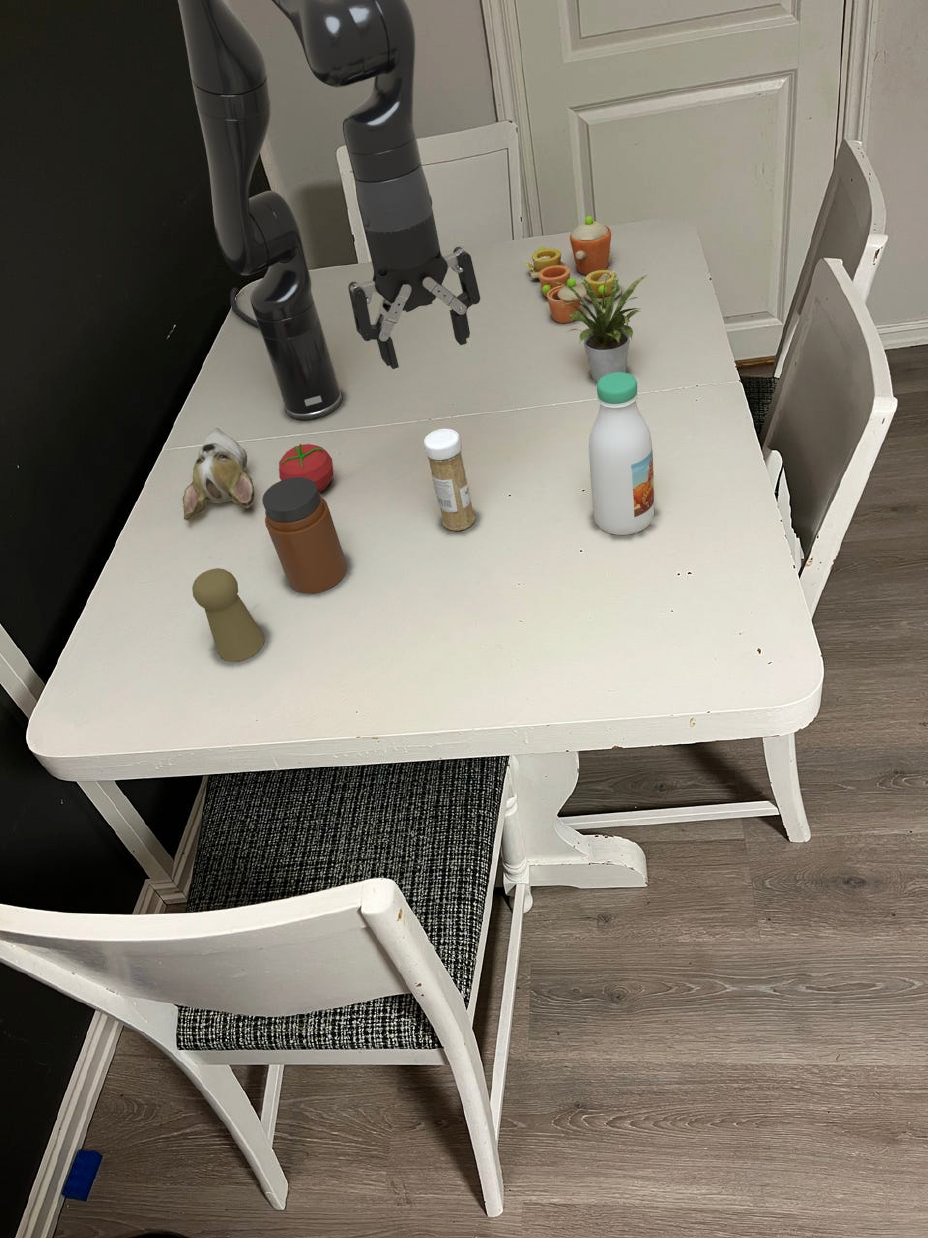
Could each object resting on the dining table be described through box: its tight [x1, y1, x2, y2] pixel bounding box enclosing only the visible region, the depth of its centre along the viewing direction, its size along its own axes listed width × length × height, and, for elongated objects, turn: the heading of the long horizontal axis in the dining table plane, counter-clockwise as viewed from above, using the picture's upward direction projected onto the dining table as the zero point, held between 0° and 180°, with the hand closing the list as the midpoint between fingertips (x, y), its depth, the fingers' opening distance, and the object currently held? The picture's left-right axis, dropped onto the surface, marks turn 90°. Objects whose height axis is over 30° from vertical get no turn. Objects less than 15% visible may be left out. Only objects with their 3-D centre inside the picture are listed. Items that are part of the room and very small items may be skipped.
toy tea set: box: [526, 215, 622, 324], centre depth 166 cm, size 26×16×10 cm, turn 5°
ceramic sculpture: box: [182, 427, 255, 521], centre depth 138 cm, size 11×9×15 cm
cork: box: [191, 567, 266, 663], centre depth 113 cm, size 6×6×11 cm
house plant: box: [553, 272, 648, 384], centre depth 142 cm, size 14×14×16 cm
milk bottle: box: [588, 372, 655, 536], centre depth 115 cm, size 8×8×20 cm
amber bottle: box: [261, 477, 348, 595], centre depth 120 cm, size 8×8×13 cm
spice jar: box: [423, 428, 476, 532], centre depth 123 cm, size 5×5×14 cm
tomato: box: [278, 443, 335, 494], centre depth 136 cm, size 8×8×8 cm
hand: (427, 354), depth 110 cm, fingers open, 8 cm apart
